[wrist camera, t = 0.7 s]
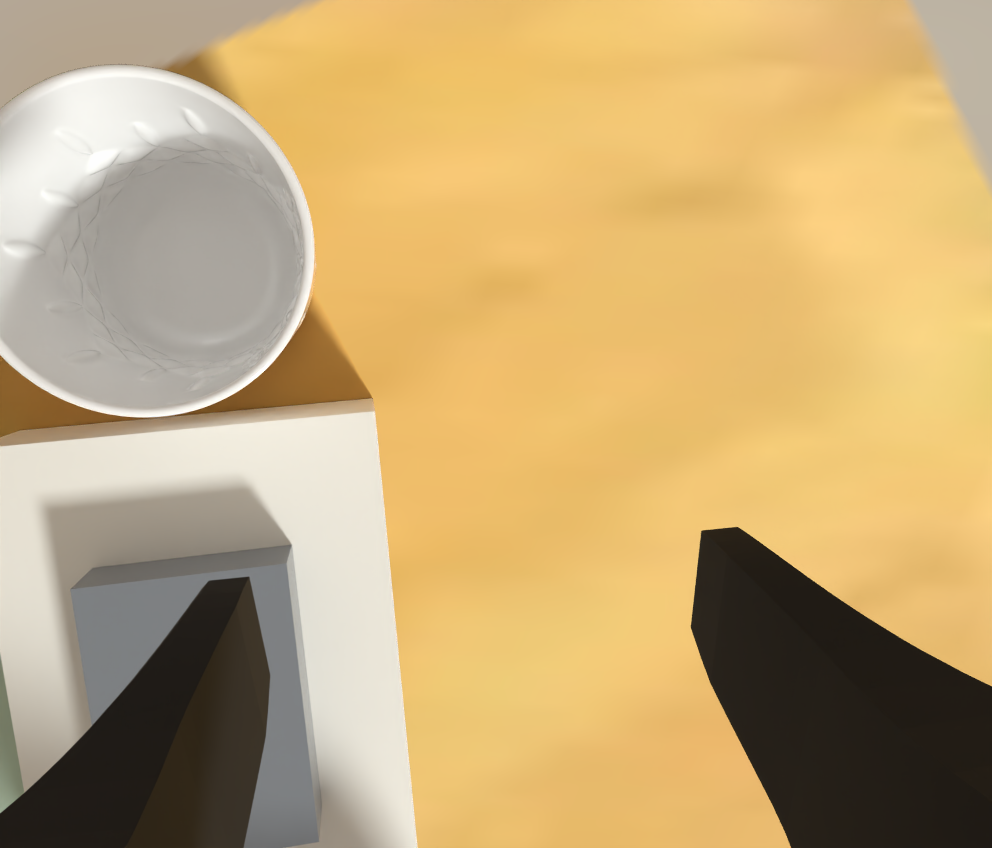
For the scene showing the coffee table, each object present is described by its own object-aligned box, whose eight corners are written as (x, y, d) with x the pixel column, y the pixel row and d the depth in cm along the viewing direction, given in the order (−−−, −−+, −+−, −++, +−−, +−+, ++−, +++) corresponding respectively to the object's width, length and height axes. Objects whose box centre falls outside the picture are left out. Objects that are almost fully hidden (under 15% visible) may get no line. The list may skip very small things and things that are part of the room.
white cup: (229, 102, 28) (158, -11, 18) (375, 290, 29) (383, 281, 20) (40, 243, 27) (-137, 206, 18) (198, 426, 29) (116, 485, 19)
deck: (414, 824, 32) (422, 895, 28) (93, 879, 31) (54, 963, 27) (372, 398, 30) (374, 411, 26) (19, 430, 28) (-36, 449, 24)
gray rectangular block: (322, 804, 27) (319, 842, 25) (133, 835, 27) (115, 876, 25) (291, 544, 26) (286, 563, 24) (92, 567, 25) (70, 589, 23)
